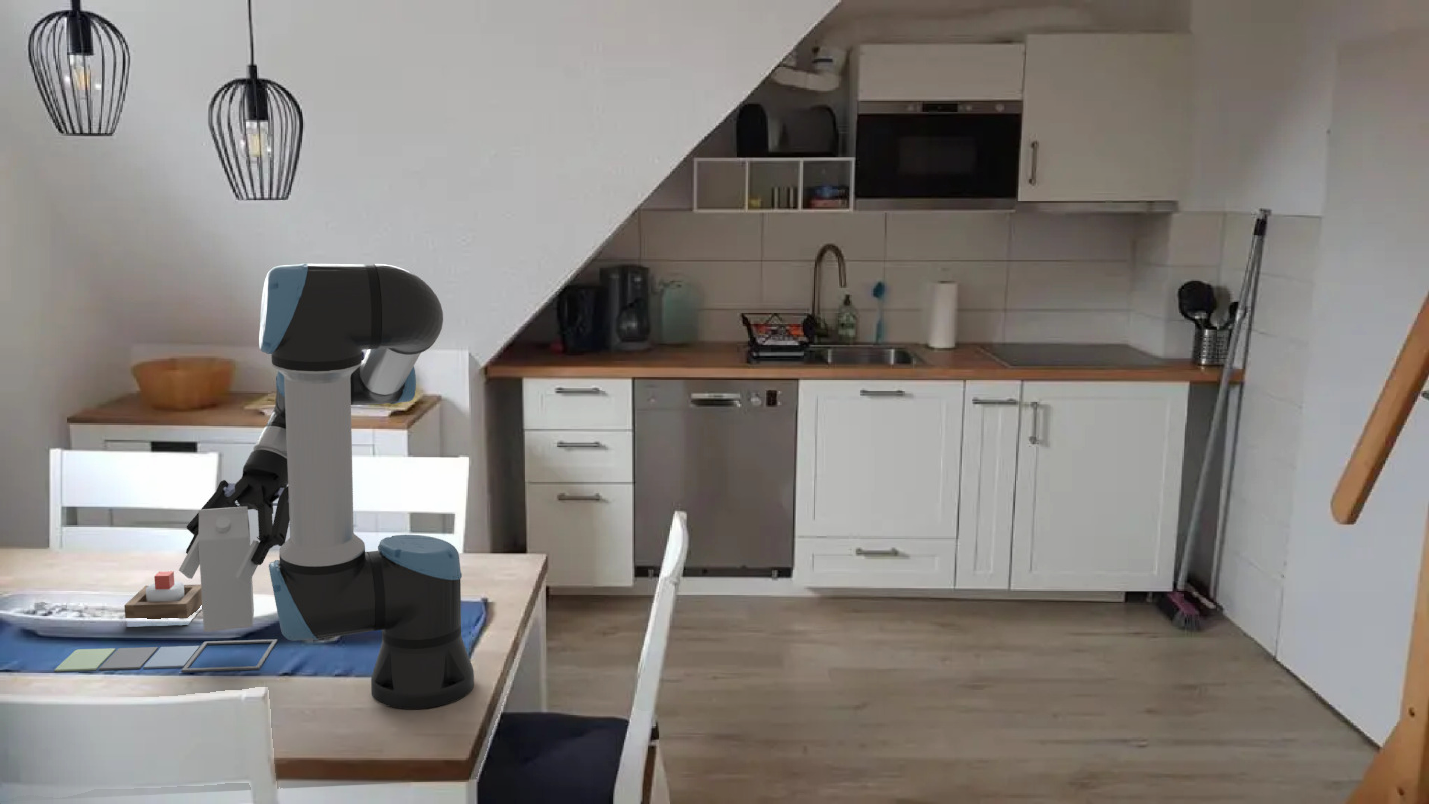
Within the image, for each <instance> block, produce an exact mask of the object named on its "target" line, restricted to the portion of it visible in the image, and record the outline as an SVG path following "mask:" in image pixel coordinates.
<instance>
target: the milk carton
mask: <svg viewBox="0 0 1429 804" xmlns="http://www.w3.org/2000/svg"><path fill="white" fill-rule="evenodd" d="M198 512H199V533H198V542H199V559H200V565H199V573H200V584H201V592H202V622H203V625H202V626H203V632H204V633H207V632H217V631H225V630H235V629H246V628H252V627H253V626H254V612H255V608H254V607H255V606H254V605H255V604H254V588H253V587H254V585H253V577H252V578H251V580H250V582H249V585H243V584H242V583H241V582H240V581H239V580H238V579H237V578H236V577H235V576H236V574H237V572H238V570H239V568H240V566H241V564H242V562H243V560H244V558H245V556H246V554H247V552H248V550H249V548H250V546H251V533H250V531H251V530H250V520H249V512H248V507H247V506H246V507H232V508H217V509H203V510H201V509H198Z"/></svg>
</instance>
